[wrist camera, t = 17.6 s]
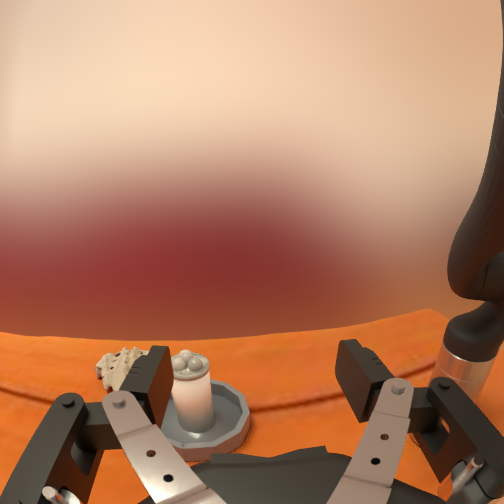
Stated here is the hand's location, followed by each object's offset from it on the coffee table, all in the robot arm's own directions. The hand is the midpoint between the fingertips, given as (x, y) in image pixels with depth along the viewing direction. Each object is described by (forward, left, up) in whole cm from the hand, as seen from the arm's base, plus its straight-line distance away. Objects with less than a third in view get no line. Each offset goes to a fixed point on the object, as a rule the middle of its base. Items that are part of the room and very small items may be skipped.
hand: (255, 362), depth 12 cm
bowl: (+4, -23, -28) cm, 37 cm away
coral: (+19, -39, -29) cm, 52 cm away
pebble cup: (+4, -23, -27) cm, 36 cm away
